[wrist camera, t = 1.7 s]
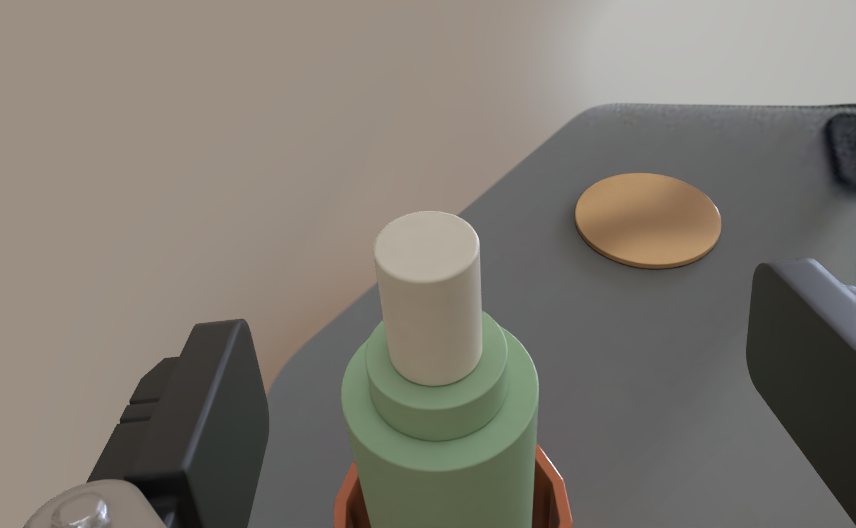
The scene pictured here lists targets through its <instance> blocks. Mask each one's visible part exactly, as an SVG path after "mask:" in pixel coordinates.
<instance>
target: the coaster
mask: <svg viewBox="0 0 856 528" xmlns="http://www.w3.org/2000/svg"><path fill="white" fill-rule="evenodd" d="M575 223H576V227H577V229H578V232H579V233H580V235H581V237H582V238H583V239H584V240H585V242H586V243H587V244H588V245H589V246H590V247H592V248H593V249H594V250H595V251H597V252H598V253H600V254H601V255H603V256H605V257H607V258H609V259H611V260H614V261H616V262H619V263H622V264H625V265H629V266H634V267H640V268H649V269H663V268H673V267H678V266H682V265H686V264H689V263H692V262H694V261H696V260H698V259H700V258H702V257H703V256H704V255H706V254H707V253H708V252H709V251H710V250H711V249H712V248H713V247H714V246H715V244H716V243H717V241H718V238H719V236H720V231H721V218H720V214H719V212H718V210H717V208H716V206H715V205H714V203H713V202H712V201H711V200H710V199H709V198H708V197H707V196H706V195H705V194H704V193H702V192H701V191H699V190H698V189H697V188H695V187H693V186H691V185H689V184H687V183H685V182H683V181H680V180H677V179H674V178H671V177H667V176H663V175H657V174H648V173H630V174H622V175H617V176H613V177H609V178H606V179H604V180H601V181H599V182H597V183H596V184H594V185H592V186H591V187H590V188H588V189H587V190H586V191H585V192H584V193H583V194H582V196H581V197H580V199H579V200H578V202H577V205H576V209H575Z"/></svg>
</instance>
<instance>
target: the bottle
mask: <svg viewBox="0 0 856 528" xmlns="http://www.w3.org/2000/svg"><path fill="white" fill-rule="evenodd" d="M373 255H374V262H375V268H376V274H377V281H378V287H379V293H380V299H381V306H382V312H383V318H384V319H383V320H382V321H381V322H380V323H379V324H378V326H377V327H376V328H375V329H374V331H373V333H372V334H371V336H370V338H368V339H367V340H366V341H365V342H364V343H363V344H362V345H361V346H360V348H359V349H358V350H357V351H356V353H355V354H354V356H353V357H352V359H351V360H350V362H349V364H348V366H347V369H346V371H345V373H344V377H343V381H342V386H341V406H342V410H343V415H344V419H345V423H346V427H347V431H348V435H349V439H350V443H351V447H352V451H353V455H354V460H355V464H356V468H357V472H358V476H359V480H360V484H361V488H362V492H363V496H364V500H365V504H366V509H367V513H368V517H369V521H370V525H371V528H532V510H533V491H534V472H535V454H536V435H537V416H538V398H539V383H538V375H537V372H536V369H535V365H534V363H533V361H532V359H531V357H530V355H529V354H528V352H527V351H526V349H525V348H524V346H523V345H522V344H521V343H520V342H519V341H518V340H517V339H516V338H515V337H514V336H513V335H512V334H510V333H509V332H508V331H507V330H505V329H503V328H502V327H500V326H499V325H498V324H497V323H496V322H495V321H494V320H493V319H492V318H491V317H490V316H489V315H488V314H487V313H485V312H484V311H482V310H481V278H480V245H479V239H478V236H477V234H476V232H475V231H474V229H473V228H472V227H471V226H470V225H469V224H468V223H467V222H466V221H465V220H463V219H461V218H459V217H457V216H455V215H452V214H449V213H444V212H438V211H422V212H416V213H411V214H408V215H404V216H402V217H400V218H397V219H396V220H394V221H392V222H391V223H389V224H388V225H387V226H385V227H384V228H383V229H382V230H381V232H380V233H379V235H378V236H377V238H376V240H375V243H374V247H373Z"/></svg>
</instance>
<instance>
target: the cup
mask: <svg viewBox="0 0 856 528" xmlns="http://www.w3.org/2000/svg"><path fill="white" fill-rule="evenodd" d="M572 527H573V521H572V516H571V511H570V507H569V502H568V498H567V493H566V488H565V484H564V481H563V479H562V477H561V476H560V474H559V473H558V472H557V470H556V469H555V467H554V466H553V465H552V463H551V462H550V460H549V459H548V457H547V456H546V455H545V453H544V452H543V450H542V449H541V448H540V446H538V445H537V444H536V454H535V472H534V491H533V510H532V528H572ZM334 528H371V525H370V521H369V517H368V513H367V509H366V504H365V500H364V496H363V492H362V488H361V484H360V480H359V476H358V472H357V468H356V464H355V461H354V462H353V463H352V465H351V467H350V469H349V471H348V473H347V476H346V478H345V480H344V482H343V484H342V486H341V488H340V491H339V493H338V495H337V497H336V499H335V503H334Z"/></svg>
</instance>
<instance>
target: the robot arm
mask: <svg viewBox="0 0 856 528" xmlns="http://www.w3.org/2000/svg"><path fill="white" fill-rule="evenodd" d="M746 358H747V366H748V370H749V374H750V377H751V380H752V382H753V384H754V386H755V388H756V389H757V391H758V392H759V394H760V395H761V396H762V398H763V399H764V400H765V402H766V403H767V405H768V406H769V407H770V409H771V410H772V411H773V413H774V414H775V415H776V417H777V418H778V420H779V421H780V422H781V424H782V425H783V426H784V428H785V429H786V430H787V432H788V433H789V435H790V436H791V437H792V439H793V440H794V441H795V443H796V444H797V446H798V447H799V448H800V450H801V451H802V452H803V454H804V455H805V456H806V458H807V459H808V461H809V462H810V463H811V465H812V466H813V467H814V469H815V470H816V471H817V473H818V474H819V476H820V477H821V478H822V480H823V481H824V482H825V484H826V485H827V487H828V488H829V489H830V491H831V492H832V493H833V495H834V496H835V497H836V499H837V500H838V502H839V503H840V504H841V506H842V507H843V508H844V510H845V511H846V513H847V514H848V515H849V517H850V518H851V519H852V521H853V522H854V523H855V525H856V287H854V286H851V285H846V286H844V285H843V284H842V283H841V282H839V281H838V280H837V279H836V278H835V277H834V276H833V275H831V274H830V273H829V272H828V271H827V270H826V269H824V268H823V267H822V266H821V265H820V264H819V263H818V262H816V261H815V260H814V259H811V258H805V259H796V260H787V261H778V262H768V263H761V264H759V265H758V266H757V268H756V269H755V272H754V276H753V282H752V293H751V303H750V314H749V324H748V335H747V346H746ZM268 435H269V412H268V404H267V399H266V394H265V390H264V386H263V382H262V378H261V374H260V369H259V365H258V361H257V357H256V352H255V349H254V344H253V340H252V336H251V332H250V329H249V326H248V324H247V322H246V321H245V320H244V319H235V320H226V321H217V322H208V323H199V324H196V325H195V326H194V328H193V329H192V331H191V333H190V336H189V338H188V340H187V342H186V344H185V346H184V348H183V350H182V353H181V355H180V357H171V358H164V359H163V360H162V361H161V362H160V363H159V364H157V365H156V366H155V367H154V368H153V369H152V370H151V371H149V372H148V373H147V374H146V375H145V376H144V377H143V378H142V379H141V380H140V382H139V384H138V386H137V388H136V390H135V391H134V393H133V395H132V397H131V399H130V405H127V407H126V408H125V410H124V412H123V414H122V416H121V418H120V424H117V425H116V427H115V429H114V431H113V433H112V435H111V437H110V439H109V441H108V443H107V444H106V446H105V448H104V450H103V452H102V454H101V456H100V458H99V460H98V461H97V463H96V465H95V467H94V469H93V471H92V473H91V475H90V476H89V478H88V480H87V482H86V483H85V484H82V485H79V486H76V487H74V488H71V489H69V490H67V491H65V492H63V493H61V494H59V495H57V496H56V497H54V498H53V499H51V500H50V501H48V502H47V503H46V504H44V505H43V506H42V507H41V508H39V509H38V510H37V511H36V512H35V513H34V514H33V515H32V516H31V517H30V519H29V520H28V521H27V523H26V524H25V525H24V527H23V528H247V526H248V522H249V517H250V513H251V509H252V505H253V500H254V496H255V492H256V488H257V484H258V479H259V475H260V471H261V467H262V462H263V458H264V454H265V450H266V445H267V441H268Z"/></svg>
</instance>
